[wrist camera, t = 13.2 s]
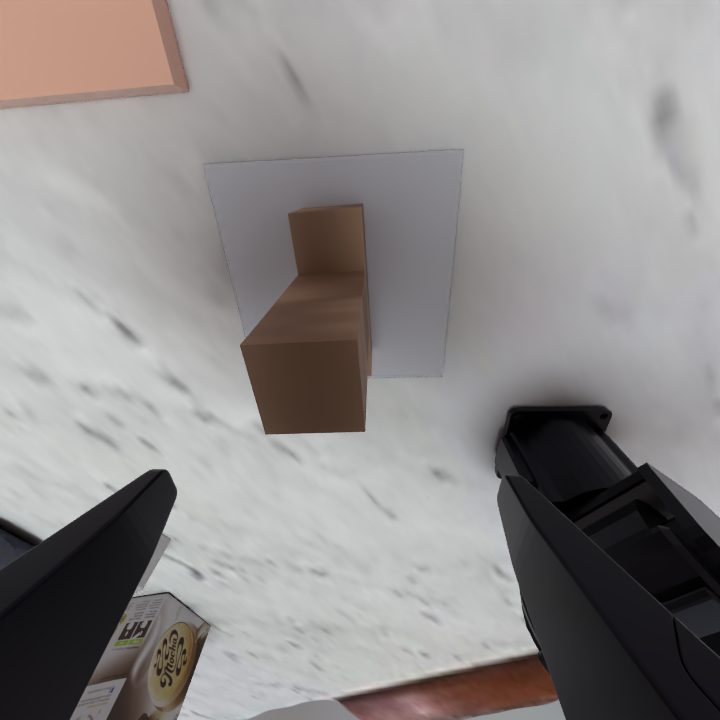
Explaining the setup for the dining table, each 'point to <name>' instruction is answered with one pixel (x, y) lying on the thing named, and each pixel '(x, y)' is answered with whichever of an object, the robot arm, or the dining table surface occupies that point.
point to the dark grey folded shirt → (11, 548)
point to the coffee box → (145, 663)
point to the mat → (382, 235)
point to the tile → (86, 51)
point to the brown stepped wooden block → (316, 330)
